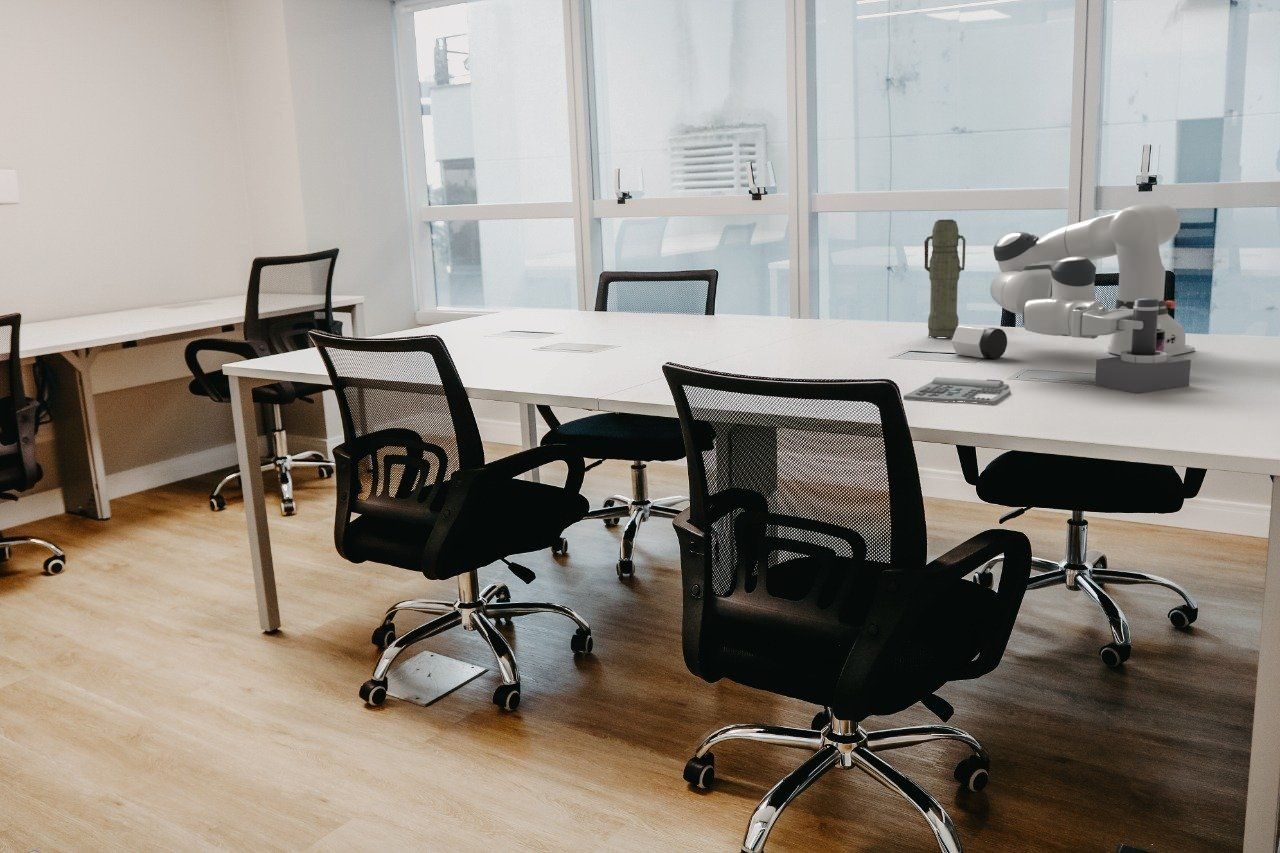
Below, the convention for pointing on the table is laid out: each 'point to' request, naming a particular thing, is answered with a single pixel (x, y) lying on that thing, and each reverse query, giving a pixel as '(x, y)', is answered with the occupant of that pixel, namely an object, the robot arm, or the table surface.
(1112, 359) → the camera body
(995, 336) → the jar
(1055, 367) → the table surface
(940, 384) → the office telephone
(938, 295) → the thermos
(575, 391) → the table surface
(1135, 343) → the lens
